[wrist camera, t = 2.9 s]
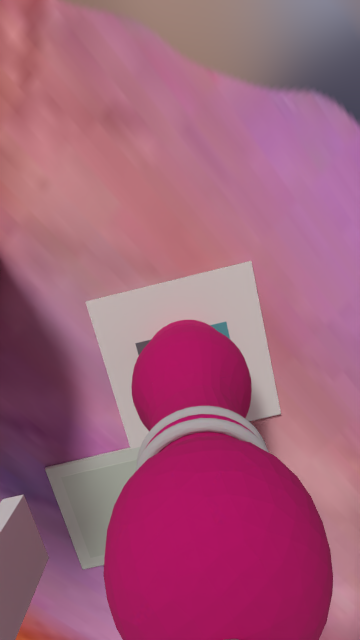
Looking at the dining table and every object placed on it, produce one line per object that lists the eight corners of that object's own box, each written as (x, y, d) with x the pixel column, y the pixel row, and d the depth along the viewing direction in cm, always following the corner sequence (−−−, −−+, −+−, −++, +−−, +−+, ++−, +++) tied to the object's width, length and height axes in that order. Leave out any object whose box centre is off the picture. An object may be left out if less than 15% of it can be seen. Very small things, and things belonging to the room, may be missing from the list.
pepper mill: (254, 372, 25) (548, 811, 6) (174, 422, 26) (184, 970, 6) (201, 292, 24) (343, 502, 4) (119, 348, 24) (-92, 749, 5)
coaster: (83, 567, 29) (82, 569, 28) (46, 467, 27) (44, 469, 26) (196, 541, 28) (196, 544, 28) (168, 438, 26) (168, 440, 26)
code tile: (131, 447, 26) (130, 449, 26) (86, 301, 24) (85, 301, 24) (279, 412, 26) (281, 413, 26) (250, 260, 24) (251, 260, 23)
